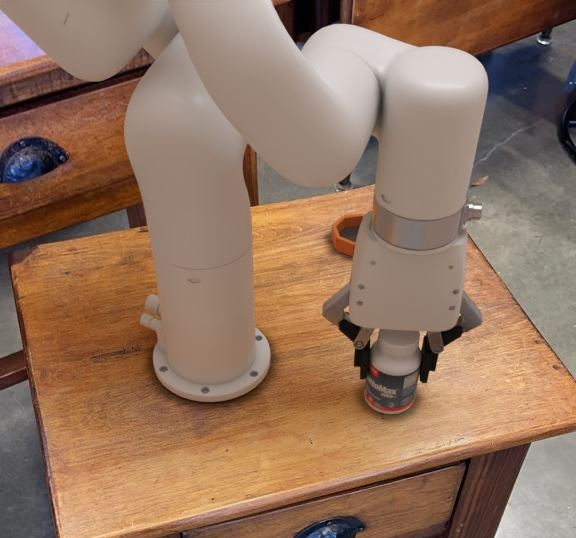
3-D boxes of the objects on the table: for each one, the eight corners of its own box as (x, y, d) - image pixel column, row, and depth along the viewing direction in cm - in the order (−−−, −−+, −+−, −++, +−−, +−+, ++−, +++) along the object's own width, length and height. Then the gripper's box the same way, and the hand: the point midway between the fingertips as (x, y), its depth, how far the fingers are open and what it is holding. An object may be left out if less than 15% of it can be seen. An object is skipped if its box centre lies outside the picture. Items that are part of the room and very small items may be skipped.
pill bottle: (353, 398, 87) (360, 333, 79) (384, 372, 89) (393, 306, 82) (393, 423, 84) (404, 359, 77) (424, 396, 87) (437, 331, 80)
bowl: (323, 245, 102) (324, 232, 100) (348, 221, 105) (349, 208, 103) (365, 262, 100) (366, 250, 98) (390, 237, 103) (391, 224, 101)
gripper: (516, 192, 71) (476, 350, 86) (316, 183, 72) (310, 341, 86) (524, 246, 66) (480, 403, 81) (312, 236, 67) (306, 393, 82)
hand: (393, 370), depth 83 cm, fingers closed on pill bottle, 5 cm apart
